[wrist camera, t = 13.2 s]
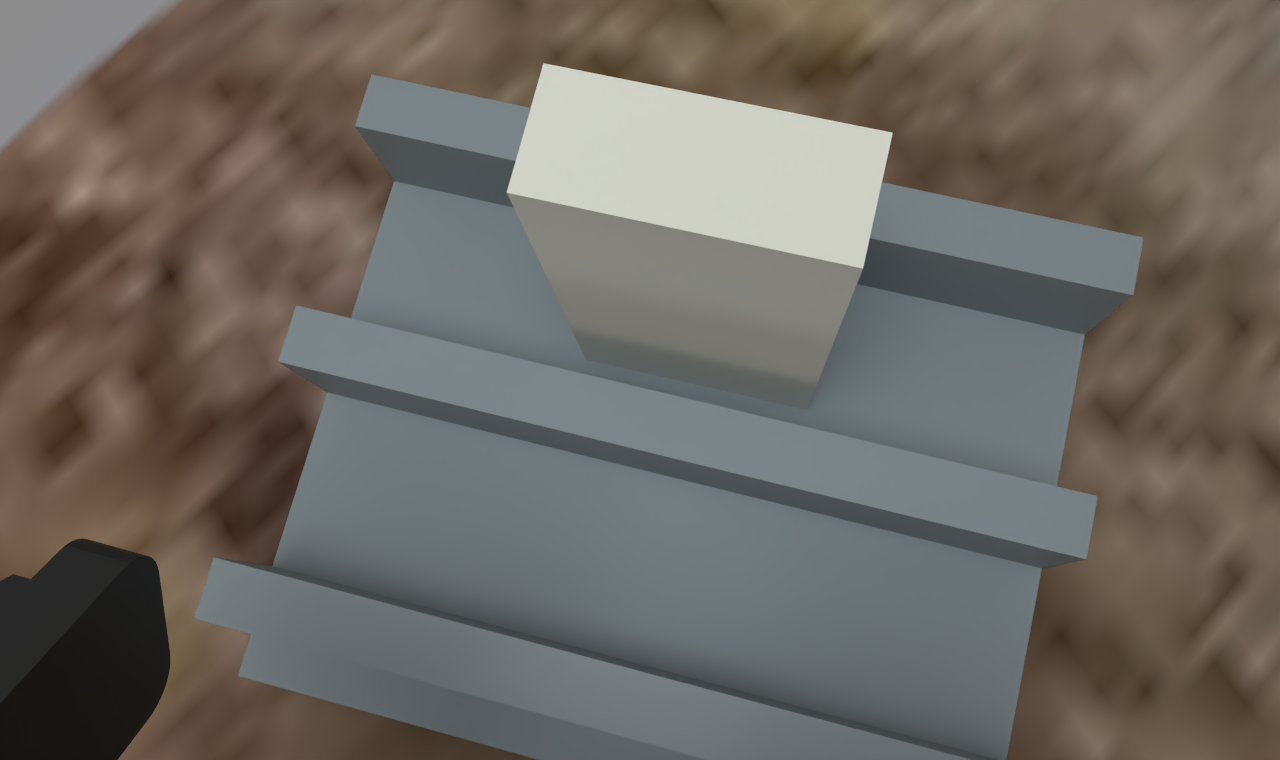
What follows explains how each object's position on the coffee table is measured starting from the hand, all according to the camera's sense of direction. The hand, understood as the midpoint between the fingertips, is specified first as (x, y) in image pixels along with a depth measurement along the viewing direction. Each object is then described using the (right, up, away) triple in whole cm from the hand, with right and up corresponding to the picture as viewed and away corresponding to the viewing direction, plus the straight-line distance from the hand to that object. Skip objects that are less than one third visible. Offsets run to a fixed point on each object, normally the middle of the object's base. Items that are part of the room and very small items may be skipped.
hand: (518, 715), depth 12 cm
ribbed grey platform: (+2, +2, +15) cm, 15 cm away
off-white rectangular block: (+3, +4, +14) cm, 15 cm away
